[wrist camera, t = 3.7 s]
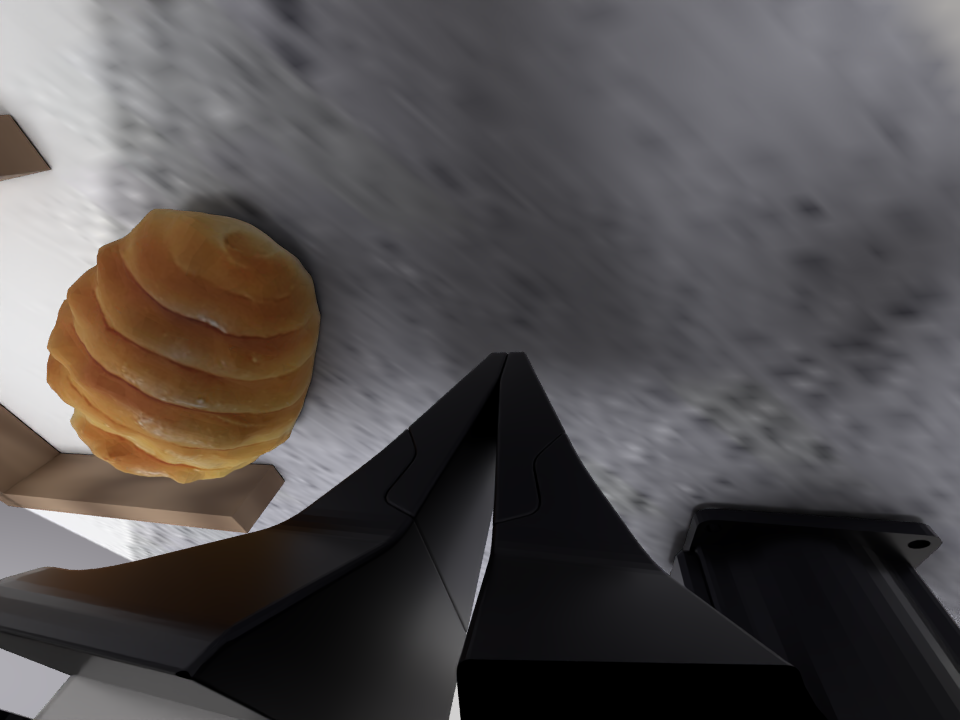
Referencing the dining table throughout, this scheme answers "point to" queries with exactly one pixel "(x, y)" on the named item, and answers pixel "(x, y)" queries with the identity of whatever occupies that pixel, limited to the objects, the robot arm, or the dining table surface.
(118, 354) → the pastry
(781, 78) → the dining table surface
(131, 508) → the frame
